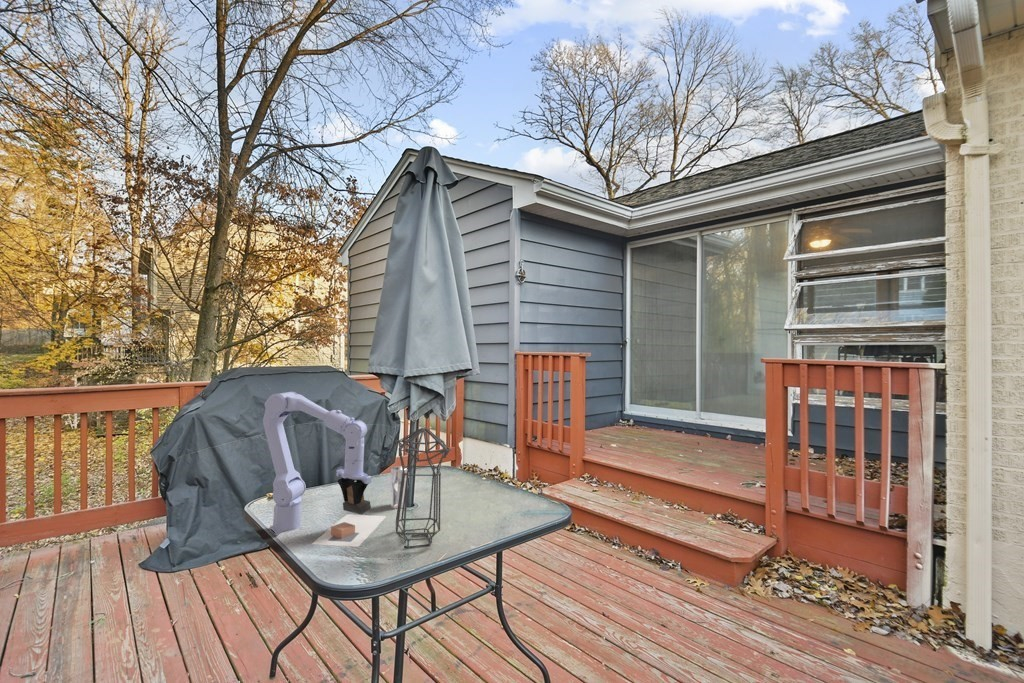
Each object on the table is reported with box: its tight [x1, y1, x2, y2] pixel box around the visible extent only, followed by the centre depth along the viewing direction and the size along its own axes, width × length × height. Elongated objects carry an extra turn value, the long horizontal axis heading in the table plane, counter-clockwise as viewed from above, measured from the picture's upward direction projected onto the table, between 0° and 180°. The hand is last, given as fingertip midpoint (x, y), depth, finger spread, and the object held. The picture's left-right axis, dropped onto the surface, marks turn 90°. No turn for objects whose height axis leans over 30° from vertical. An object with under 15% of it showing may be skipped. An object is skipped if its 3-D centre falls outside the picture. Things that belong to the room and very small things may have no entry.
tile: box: [330, 522, 355, 539], centre depth 142 cm, size 5×5×2 cm
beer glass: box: [389, 465, 407, 509], centre depth 171 cm, size 7×7×15 cm
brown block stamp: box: [342, 486, 372, 515], centre depth 147 cm, size 4×8×8 cm, turn 62°
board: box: [311, 513, 387, 548], centre depth 147 cm, size 26×14×1 cm, turn 177°
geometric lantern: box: [395, 427, 452, 549], centre depth 143 cm, size 16×16×35 cm
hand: (352, 502), depth 146 cm, fingers closed on brown block stamp, 4 cm apart
